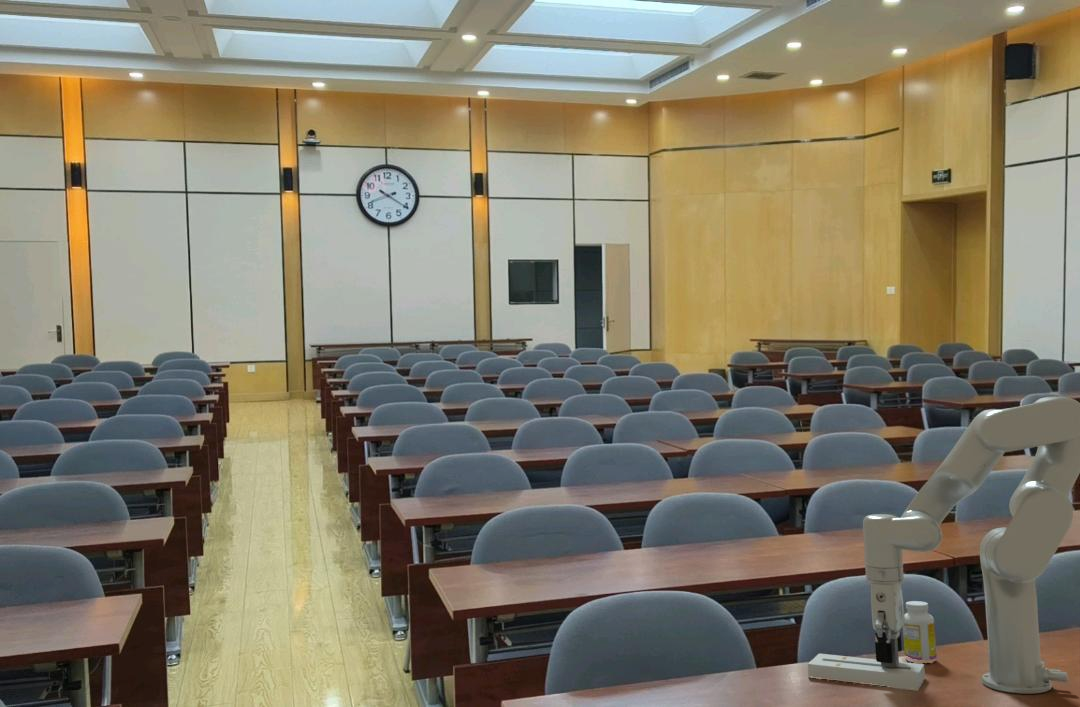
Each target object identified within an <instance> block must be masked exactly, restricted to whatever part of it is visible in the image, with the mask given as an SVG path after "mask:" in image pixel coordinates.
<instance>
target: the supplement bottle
mask: <svg viewBox="0 0 1080 707" xmlns="http://www.w3.org/2000/svg"><path fill="white" fill-rule="evenodd" d="M905 609H906V610H907V611H906V612H905V613H904V616H905V623H904V625H903V626H902V632H903V634H902V635H903V647H904V649H903V650H904V656H905V655H906V656H908V657H910V658H912V659H917V660H927V661H928V660H934V659H936V658H937V656H938V654H937V645H936V644H937V642H936V641H937V640H936V632H935V631H936V630H935V619H934V617H933V615H931V614H930V613H929V611H928V610H929V603H928V602H926V601H920V600H919V601H918V600H911V601H907V602H905ZM937 659H938V658H937Z"/></svg>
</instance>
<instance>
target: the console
mask: <svg viewBox="0 0 1080 707" xmlns="http://www.w3.org/2000/svg"><path fill="white" fill-rule="evenodd" d="M807 671H808V677H809V676H813V677H821V678H829V679H838V680H845V681H855V682H864V683H872V684H878V685H884V686H890V687H894V688H893V689H899V690H906V691H907V690H909V691H914V692H915V691H917V692H918V691H919V690H920V688H921V686H922V685H923V683H924V681H925V680H924V678H925V679H926V674H925V673H926V672H925V671H926V670H925V664H917V663H911V662H908V661H907V662H905V661H899V665H898V666H897V667H896V668H892V667H883V666H881V662H877V661H876V658H866V657H855V656H849V655H847V656H845V655H839V654H838V655H837V654H828V653H818V654H817V655H815V657H814V658H812V659H811V660H810V661H809V662H808V663H807ZM923 680H924V681H923ZM921 684H922V685H921Z"/></svg>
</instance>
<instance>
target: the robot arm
mask: <svg viewBox="0 0 1080 707" xmlns="http://www.w3.org/2000/svg"><path fill="white" fill-rule="evenodd" d="M1036 447H1037V448H1036ZM1032 448H1036V449H1037V450H1036V453H1035V455H1034V457H1033V458H1032V459H1033V460H1032V462H1031V463H1030V465H1029V467H1028V469H1027V471H1026V472H1025V474H1024V476H1023V478H1022V479H1021V481H1020V483H1019V485H1018V486H1017V487H1016V489H1015V490H1014V492H1013V493H1012V496H1011V497H1010V499H1009V504H1008V506H1009V507H1008V508H1009V512H1010V514H1011V516H1012V518H1011V520H1010V522H1009V523H1008V525H1007V527H1006V526H1004V527H997V528H993V529H991V530H990V531H988V532H987V533H986V534H984V536H983V538H982V539H981V543H980V546H979V560H980V567H981V572H982V574H981V575H982V580H983V589H984V604H985V619H986V633H987V635H986V636H987V646H988V648H987V649H988V650H987V651H988V662H989V671H988V672H986V673H984V674H983V675H982V676H981V682H982V683H983V685H984V686H986V687H988V688H991V689H992V690H993V689H994V690H996V691H1001V692H1006V693H1013V694H1021V695H1022V694H1023V695H1025V694H1026V695H1032V694H1034V695H1035V694H1043V693H1046V692H1048V691H1050V690H1051V689H1052V681H1053V682H1057V683H1058V682H1059V683H1068V682H1069V680H1068V678H1069V677H1068V672H1064V671H1062V670H1060V669H1049V668H1048V667H1047V666H1045V662H1044V661H1043V660H1042V659H1041V658H1042V657H1041V655H1042V654H1041V644H1040V643H1041V642H1040V641H1041V640H1040V629H1039V628H1040V627H1039V613H1038V598H1037V588H1036V581H1035V580H1036V579H1037V578H1039V577H1040V576H1041V575H1042V574H1043V573H1044V571H1045V570H1046V569H1047V567H1048V565H1049V564H1050V562H1051V560H1052V558H1053V557H1054V555H1055V554H1056V552H1057V550H1058V548H1059V547H1060V545H1061V543H1062V541H1063V540H1064V538H1065V536H1066V535H1067V533H1068V531H1069V529H1070V527H1071V526H1072V521H1073V517H1074V510H1073V509H1074V508H1073V505H1072V503H1071V501H1070V498H1069V497H1068V496H1069V495H1070V493H1071V491H1072V489H1073V487H1074V486H1075V483H1076V481H1077V479H1078V477H1079V475H1080V402H1079V401H1077V400H1076V399H1074V398H1071V397H1067V396H1045V397H1041V398H1038V399H1037V400H1036V401H1034V402H1033V403H1029V404H1026V405H1020V406H1013V407H1009V408H1001V409H997V408H996V409H995V408H990V409H984V410H982V411H981V412H979V413H978V414H977V415H976V416H975V417H974V418H973V419H972V421H971V422H970V424H969V425H968V426H967V428H966V429H965V430H964V432H963V433H962V435H961V436H960V438H959V439H958V440H957V442H956V443H955V445H953V447H952V449H951V450H950V452H949V453H948V455H946V457H945V459H944V460H943V461H942V462H941V464H940V465H939V466H938V467H937V469H935V471H934V472H933V474H931V477H930V478H929V479H928V480H927V481H926V482H925V483H924V484H923V485H922V486H921V488H920V489H919V491H918V492H917V493H916V494H915V495H914V497H913V499H912V500H910V503H909V505H907V507H906V509H905V510H904V511H903V513H902V514H901V516H900V517H898V516H896V515H893V514H888V513H887V514H885V513H881V514H880V513H879V514H878V513H877V514H875V513H874V514H869V515H866V516H864V517H863V520H862V531H863V532H862V534H863V549H864V564H865V565H864V566H865V569H864V570H865V580H866V582H868V583H870V586H871V587H870V598H871V599H870V600H871V603H870V606H871V620H872V621H871V622H872V628H873V630H875V633H874V636H875V638H874V639H875V640H874V641H875V642H874V645H875V646H874V647H875V659H876V661H877V662H883V663H892V662H893V654H892V643H890V637H891V630H893V631H894V632H898V631H899V630H900V636H899V637H898V638H897V641H898V653H899V652H902V650H903V648H902V646H903V645H902V632H901V629H903V625H904V623H905V616H904V614H905V609H904V608H905V607H904V597H903V590H902V584H903V583H904V582H905V579H904V578H905V577H904V562H903V551H912V552H919V553H927V552H932V551H934V550H935V549H937V548H939V546H940V545H941V543H942V541H943V530H942V528H941V526H940V525H941V524H942V522H943V521H944V520H945V518H946V517H947V516H948V514H949V513H950V512H951V511H952V510H953V508H954V507H956V506H957V504H958V503H959V502H961V501H962V500H963V499H965V498H967V497H970V496H971V495H972V494H974V493H975V492H976V491H977V490H979V489H980V488H981V487H982V485H983V484H984V482H985V481H986V479H987V478H988V476H989V475H990V473H991V472H992V470H993V469H994V468H995V466H996V465H997V464H998V463H999V461H1000V460H1001V458H1002V457H1003V456H1004V454H1005V453H1009V452H1015V451H1021V450H1027V449H1032ZM885 633H887V637H886V634H885Z"/></svg>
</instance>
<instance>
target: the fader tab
mask: <svg viewBox="0 0 1080 707" xmlns="http://www.w3.org/2000/svg"><path fill="white" fill-rule="evenodd" d="M900 632H901V629H900V630H899V631H898V632H894V631H893V630H891V637H890V643H892V654H893V662H892V663H883V662H881V666H883V667H892V668H896V667H897V666H898V665H899V662H900V660H899V659H900V658H899V651H898V641H897V638H898V637H899V636H900ZM885 634H886V637H887V633H885Z"/></svg>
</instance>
